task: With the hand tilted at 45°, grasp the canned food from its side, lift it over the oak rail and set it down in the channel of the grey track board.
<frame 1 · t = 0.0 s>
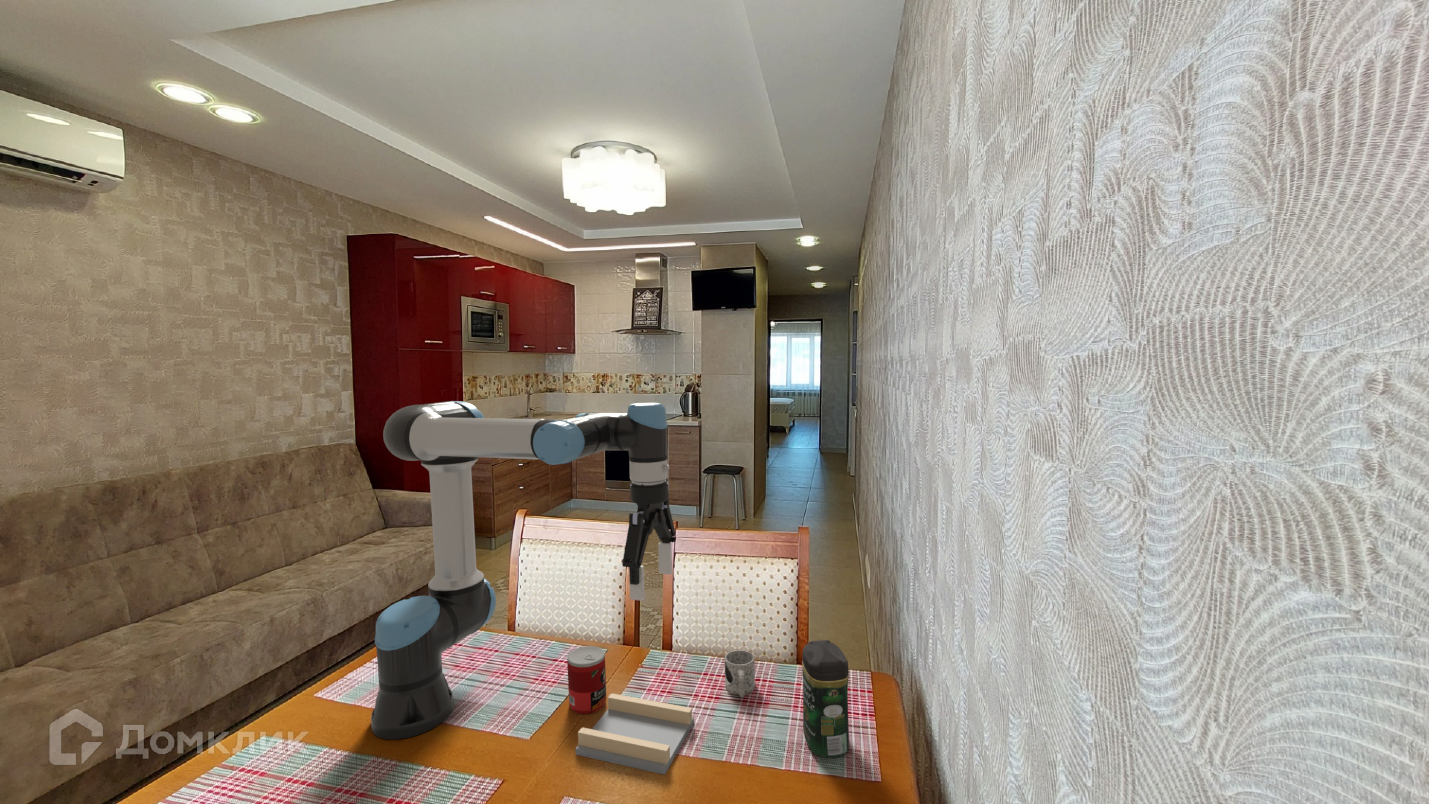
hand: (652, 585, 114), 28 cm above the table, tool pointing down, fingers open, 13 cm apart
track: (637, 738, 110), on the table
mug: (740, 691, 125), on the table
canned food: (588, 705, 121), on the table
coffee jar: (825, 743, 108), on the table
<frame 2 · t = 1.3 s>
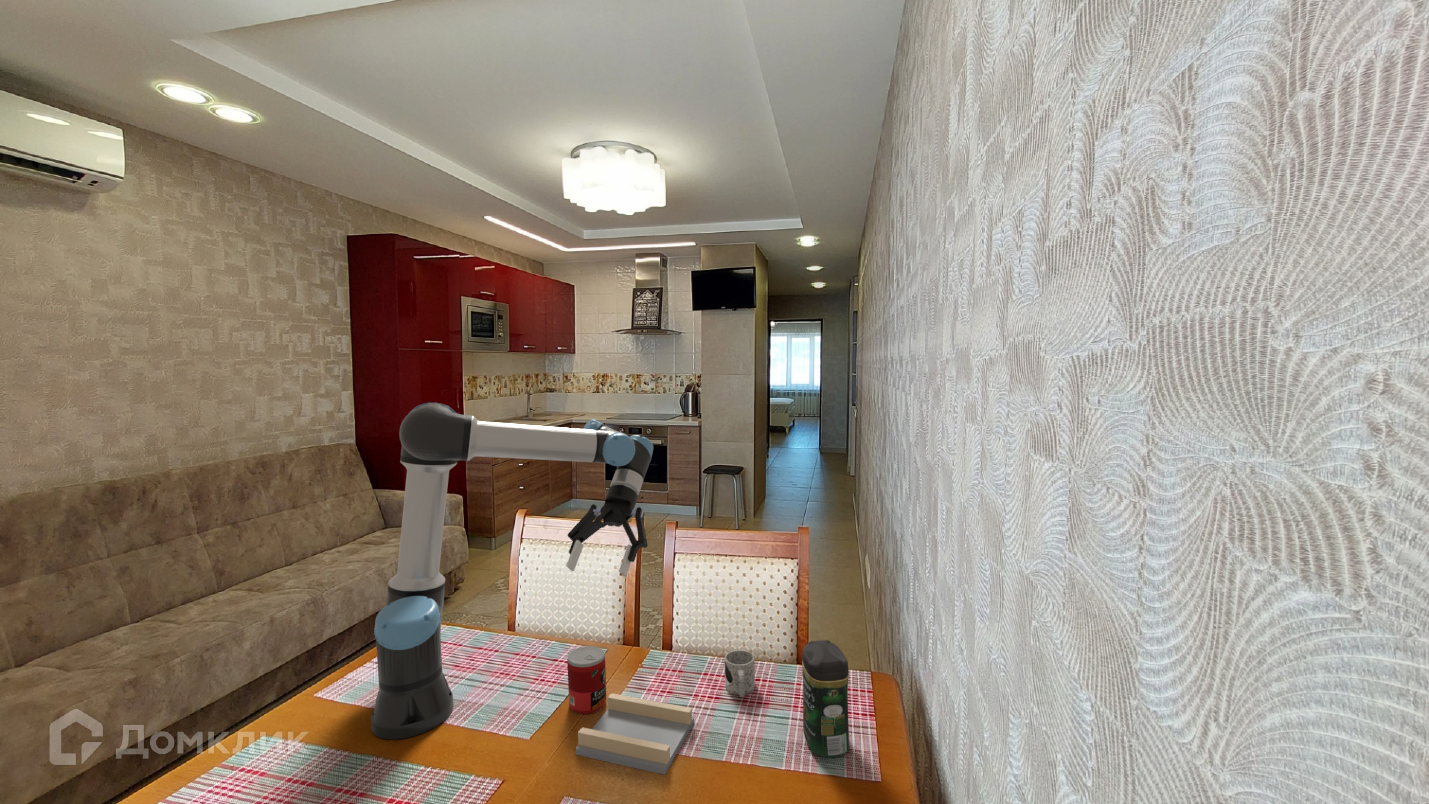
hand: (595, 571, 129), 25 cm above the table, tool tilted 45°, fingers open, 13 cm apart
nothing on the table moved.
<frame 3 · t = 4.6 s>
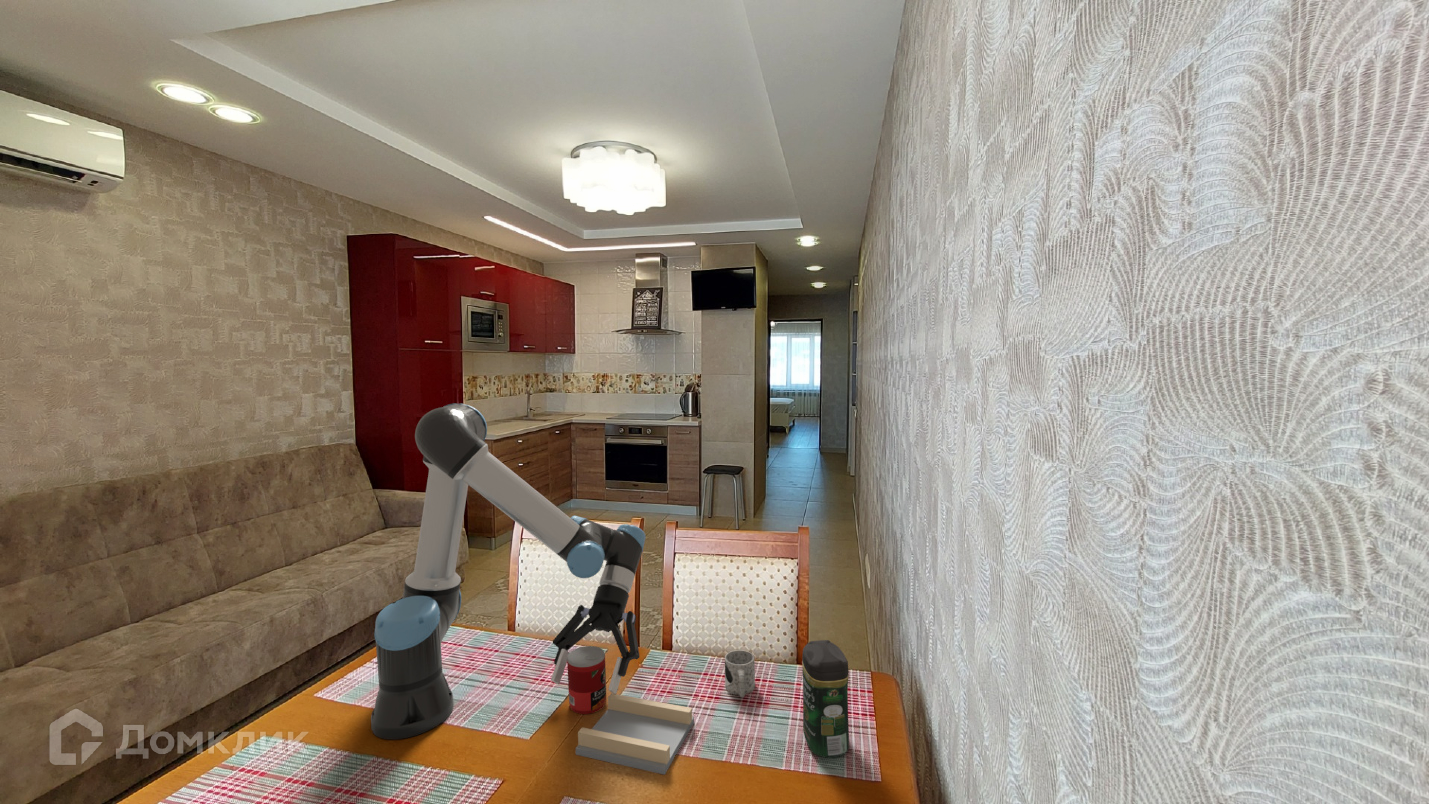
hand: (583, 687, 119), 5 cm above the table, tool tilted 45°, fingers open, 13 cm apart
nothing on the table moved.
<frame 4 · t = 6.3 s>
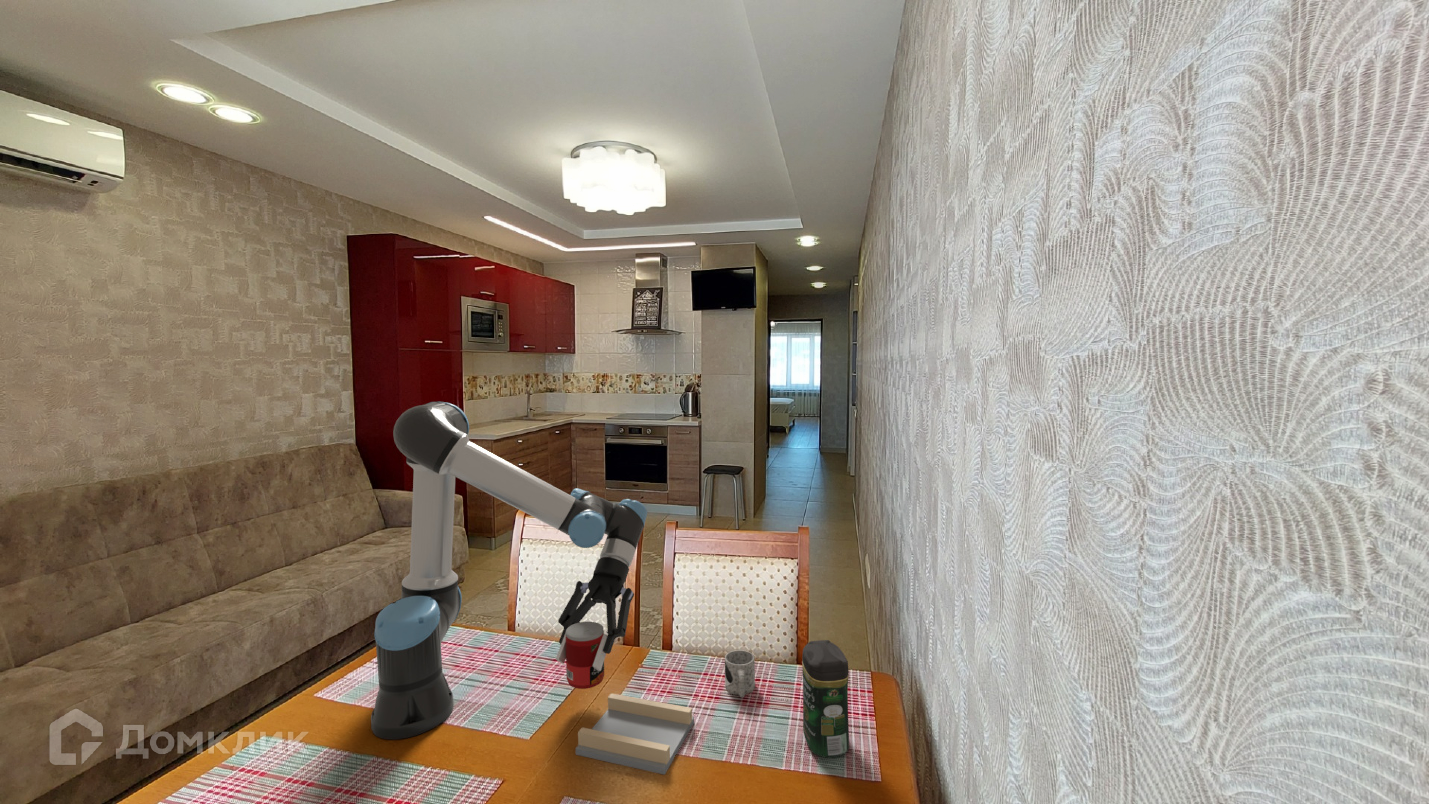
hand: (577, 664, 117), 10 cm above the table, tool tilted 45°, fingers closed on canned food, 8 cm apart
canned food: (585, 680, 120), point 6 cm above the table, touching gripper
everything else where it was.
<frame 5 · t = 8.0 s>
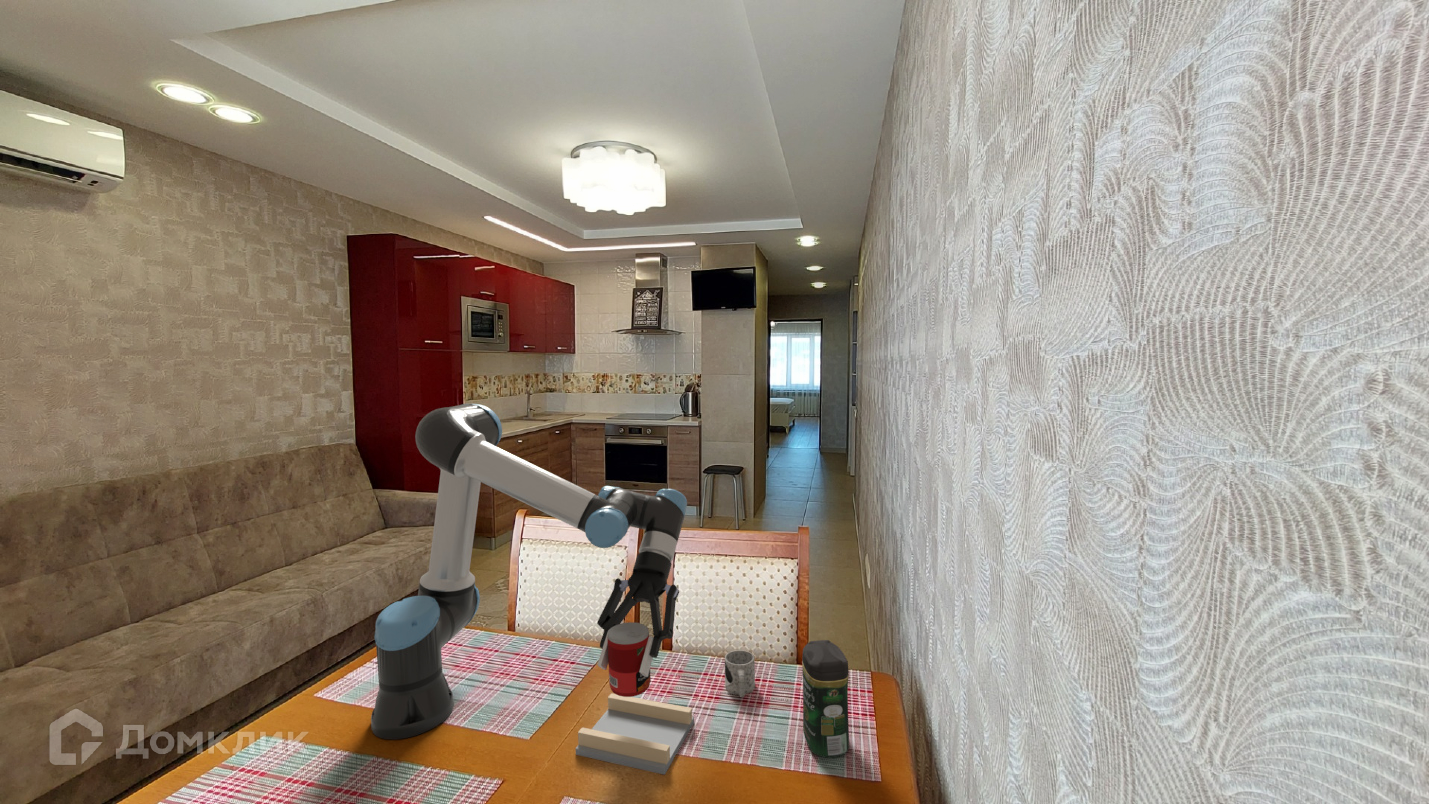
hand: (622, 670, 106), 15 cm above the table, tool tilted 45°, fingers closed on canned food, 8 cm apart
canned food: (630, 687, 109), point 10 cm above the table, touching gripper
everything else where it was.
when the fingers open (6 cm above the table, at t = 10.0 s): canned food stays where it is, resting on track.
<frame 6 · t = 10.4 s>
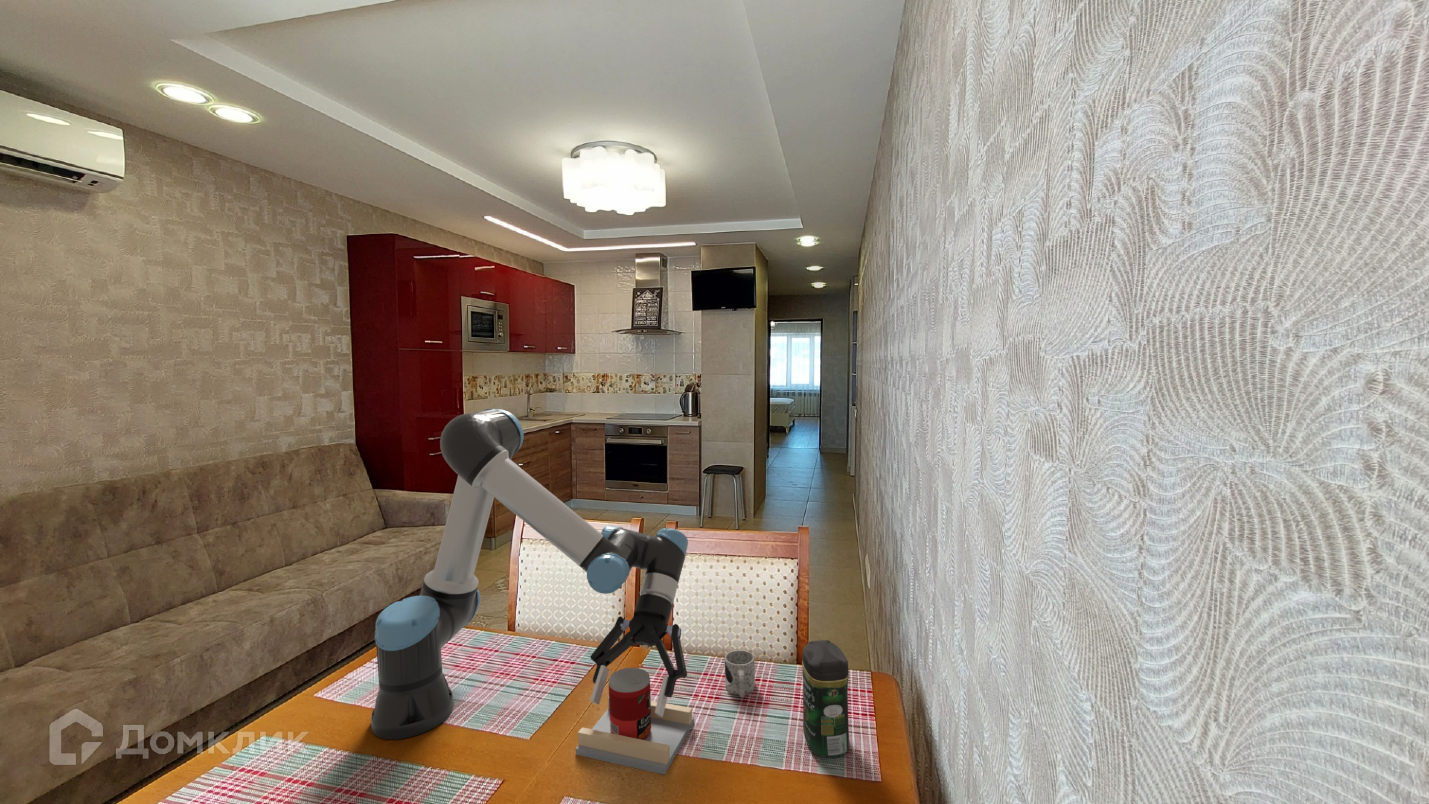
hand: (625, 709, 108), 7 cm above the table, tool tilted 45°, fingers open, 13 cm apart
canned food: (631, 733, 110), point 1 cm above the table, touching track
everything else where it was.
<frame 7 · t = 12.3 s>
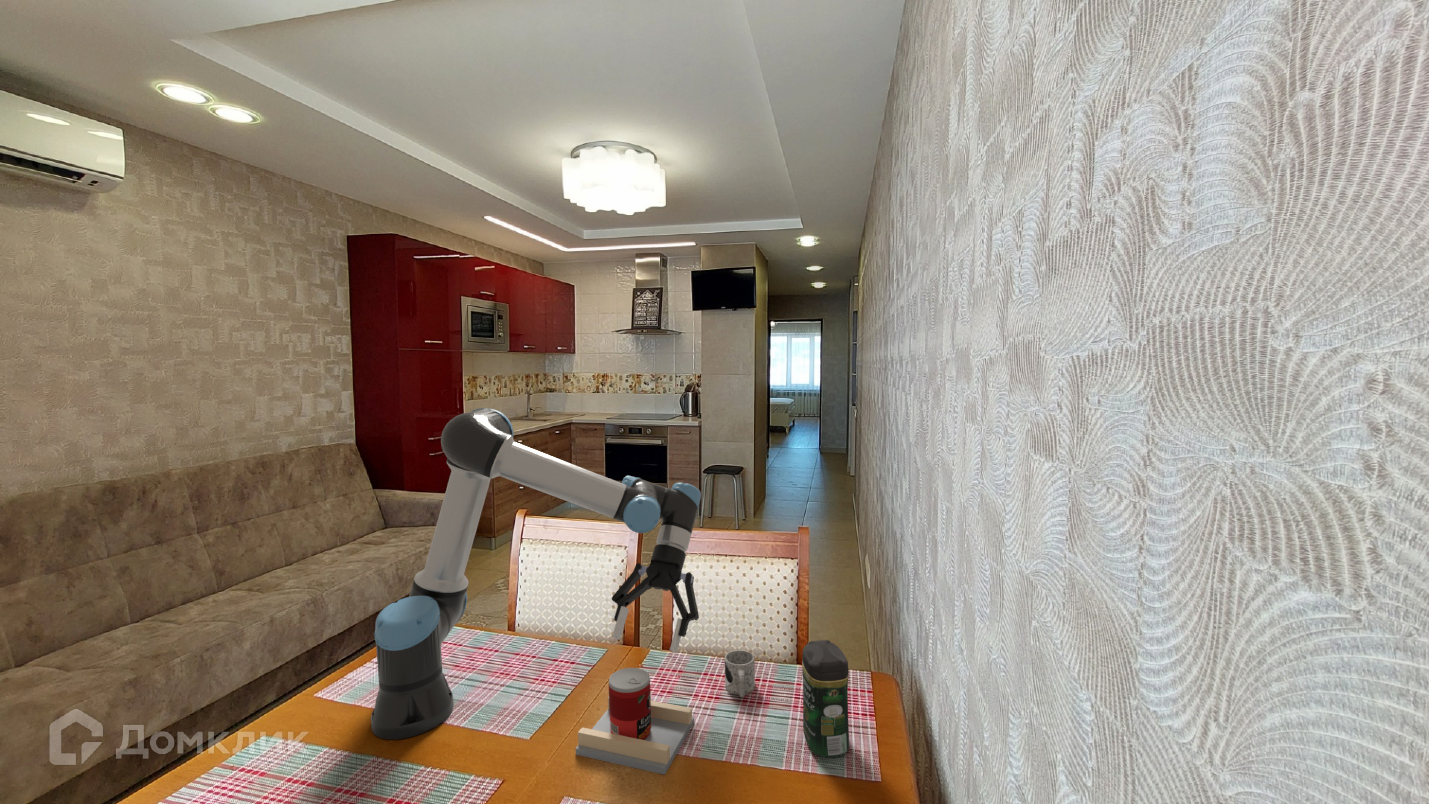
hand: (644, 645, 121), 13 cm above the table, tool tilted 35°, fingers open, 13 cm apart
nothing on the table moved.
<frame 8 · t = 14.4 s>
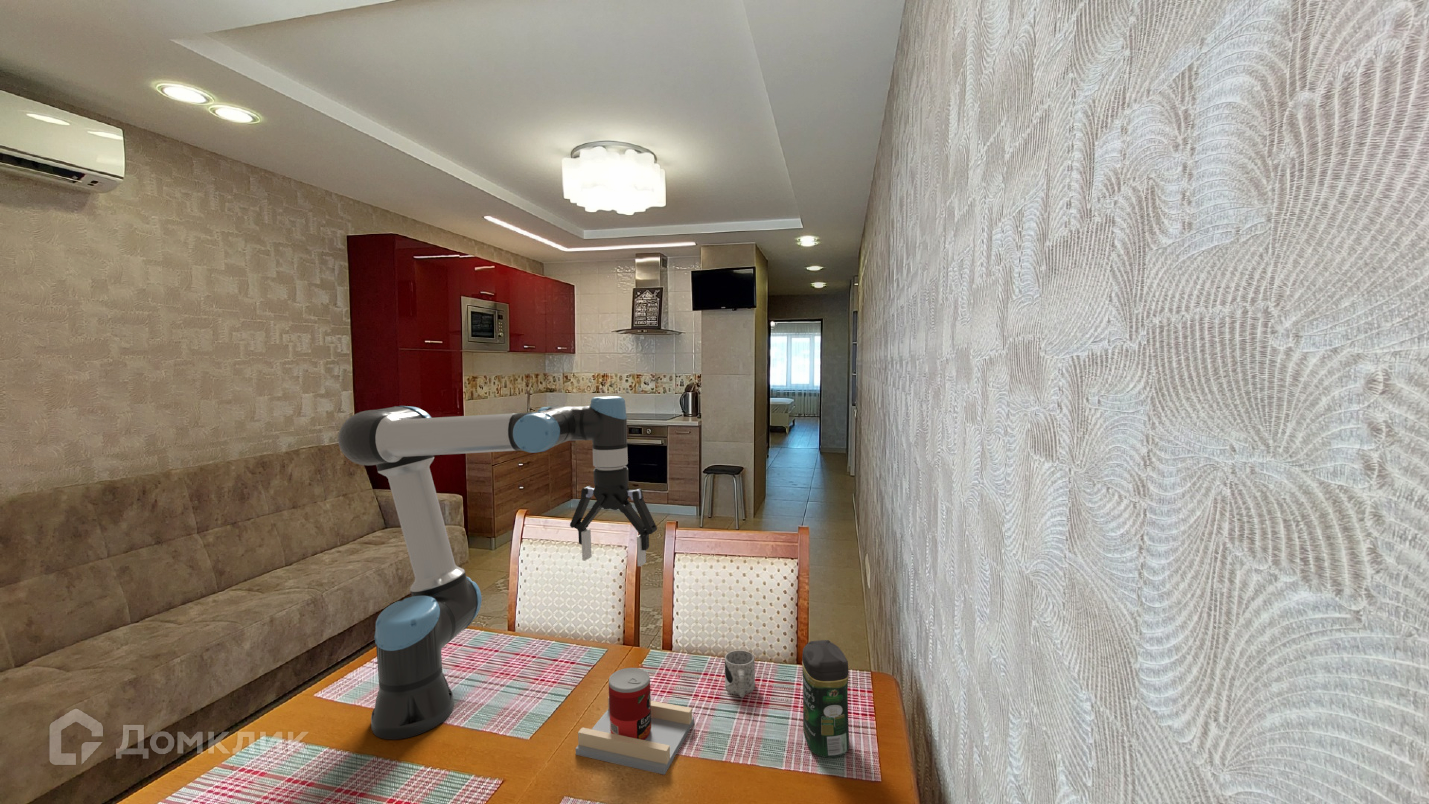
hand: (614, 561, 126), 29 cm above the table, tool pointing down, fingers open, 13 cm apart
nothing on the table moved.
at the end: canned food inside the target area on the track (1.2 cm from its centre), point 1.0 cm above the track's base; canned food tilted 0°; the gripper is holding nothing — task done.
